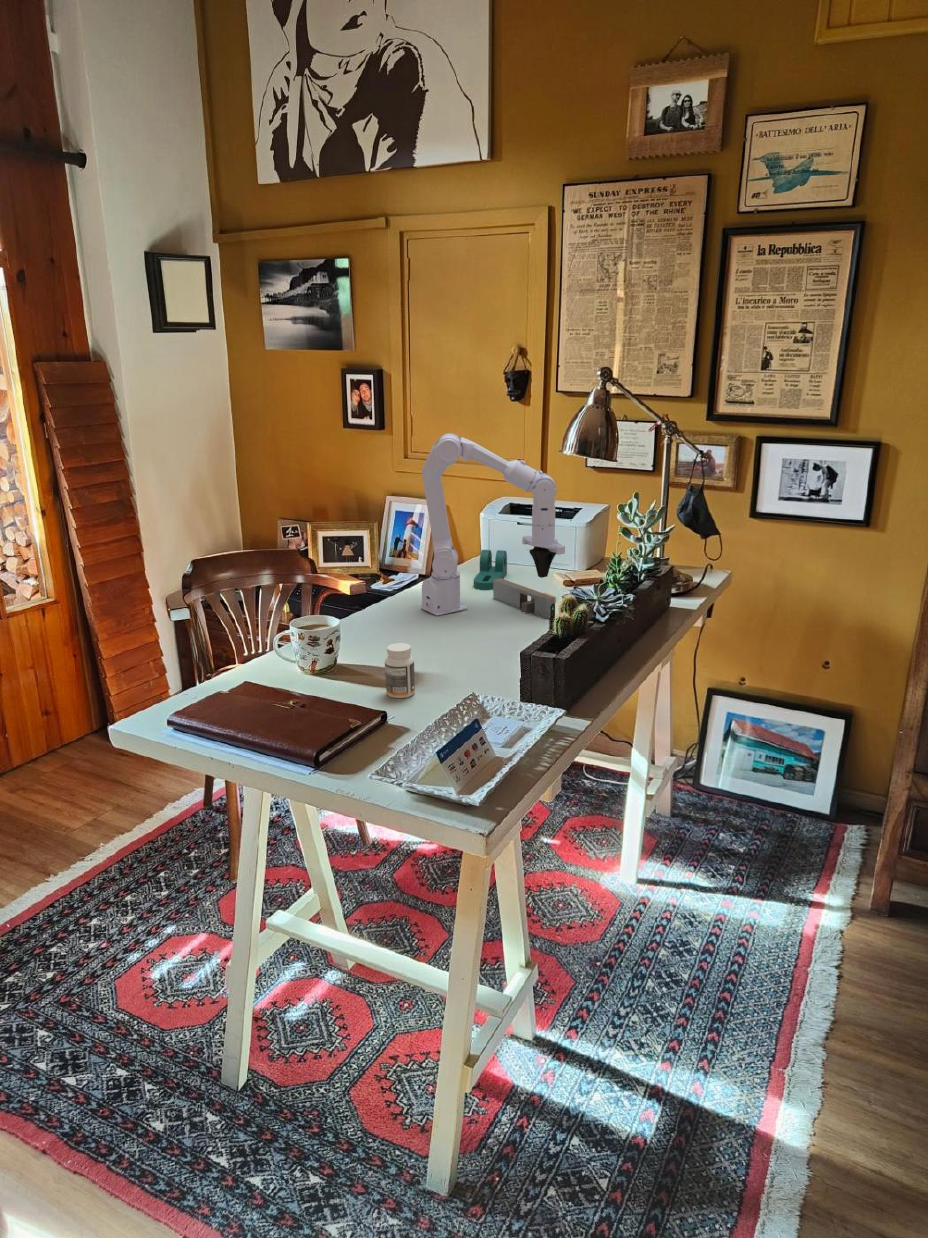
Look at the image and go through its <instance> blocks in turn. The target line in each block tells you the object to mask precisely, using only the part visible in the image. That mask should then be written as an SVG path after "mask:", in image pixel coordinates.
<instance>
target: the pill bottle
mask: <svg viewBox="0 0 928 1238" xmlns="http://www.w3.org/2000/svg"><path fill="white" fill-rule="evenodd" d="M386 652H387V657H386V658H385V659H384V670H385V673H384V674H385V688H386V691H385V692H386V694H387V695H388V697H390V698H393V699H405V698H410V697H411V696H413V695H415V692H416V679H415V677H416V676H415V675H416V673H415V659H414V657H413V656H412V655H411V654H412V646H411V645H410V644H409V643H405V642H396V643H391V644H389V645H388V646H387V647H386Z"/></svg>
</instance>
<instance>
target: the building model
mask: <svg viewBox="0 0 928 1238" xmlns="http://www.w3.org/2000/svg"><path fill="white" fill-rule="evenodd" d="M492 591H493V595H492V596H493V597H492V598H493V599H494V600H496V601H499V602H501V603H504V604H506V605H509V606H511V605H513V606H512V607H514V606H515V607H514V608H516V607H517V609H519V610H522V609H521V608H522V602H526V601H529V600H528V599H529V598H528V597H530V598H531V597H534V598H535V612H534V615H535V616H537V617H540V618H542V619H545V620H547V619H548V620H549V619H550V618H549V616H550V607H551V604H553V603H554V597H552V596H553V595H552V596H549V595H550V594H549V595H546V594H544V593H545V592H540V591H537V590H535V589H533V588H530V587H527V586H523V585H520V584H518V583H515V582H513V581H510V580H508V579H505V578H504V579H502V578H499V579H494V580H493V590H492Z"/></svg>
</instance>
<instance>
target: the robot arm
mask: <svg viewBox="0 0 928 1238" xmlns="http://www.w3.org/2000/svg"><path fill="white" fill-rule="evenodd" d="M461 457H462V459H461V462H465V461H466V462H467V461H476V462H478V463H480V464H482V465H484V466H486V467H489V468H490V469H493V470H494V471H496V472H499V473H501V474H502V475H503V478H504V482H505V481H506V482H507V483H509V484H511V485H513V486H514V487H517V488H518V489H520V490H522V491H525V492H526V493H532V495H533V497H532V499H533V501H532V502H533V503H532V507H531V509H532V512H531V535H525V536H522V544H523V545H529V546H531V547H533V548H532V549H531V548H530V549H529V553H528V554H530V556H531V557H532V560H533V563H534V566H535V568H536V573H537V577H538V578H547V577H548V575H549V571H550V568H551V565H552V563H553V560H554V558H555V557H556V556H557V555H559V556H561V555H565V554H566V545H563V544H561V543H560V542H558V539H557V538H556V504H555V503H556V495H557V493H558V489H557V486H556V485H557V484H556V483H555V480H554V479H553V478H552V477H551V476H550V475H549V474H548V473H543V471H542V470H540V469H539V470H537V469H534V468H532V467H531V466H530V465H527V464H526V463H527V462H526V461H525V460H523V459H520V461H519V460H518V459H514V460H511V461H508V460H506V459H504V458H502V457H500V456H499V455H498V454H495V453H493V452H492V451H490V450H488V449H486V448H485V447H484V446H481V445H480V444H478V443H476V442H474V441H472V440H470V439H468V438H466V437H462V436H461V438H460V436H459V435H457V434H456V433H451V432H448V433H447V432H446V433H445V434H443V435H442V436H440V437H439V438H438V439H437V440H436V441H435V443H434V444H433V445H432V448H431V450H430V452H429V454H428V455H427V458H426V459H425V462H424V464H423V467H422V469H421V477H422V482H423V488H424V495H425V502H426V508H427V514H428V518H429V525H430V531H431V536H432V537H431V538H432V546H433V547H432V548H433V560H432V564H431V568H432V571H431V576H429V578H426V579H423V581H422V584H421V603H422V605H421V606H420V609H421V610H424V611H426V612H428V613H430V614H433V615H435V616H442V615H447V614H451V613H456V612H459V611H460V612H461V611H464V610H468V606H465V605H463V604H461V573H460V571H459V570H458V562H459V554H458V552H457V550H456V548H455V547H454V544H453V539H452V535H451V531H450V524H449V517H448V512H447V511H448V510H447V505H446V504H447V503H446V498H445V491H444V485H443V479H442V475H443V474H444V473H445V472H446V470H447V469H448V468H449V467H450V466H453V464H455V463H456V462H457V461H459V459H460V458H461Z"/></svg>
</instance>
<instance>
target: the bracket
mask: <svg viewBox="0 0 928 1238" xmlns="http://www.w3.org/2000/svg"><path fill="white" fill-rule="evenodd" d="M479 555H480V556H479V572H478V573H477V575H476V576H475V577H474V578H473V588H474V589H475V590H478V589H479V590H480V591H493V580H494V579H499V578H502V579H505V578H506V575H507V574H508V554H507V551H506V550H503V549H502V550H500V549H499V550H496V553H495V559H494V565H493V554H492V550H491V549H481V551H480V554H479Z"/></svg>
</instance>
